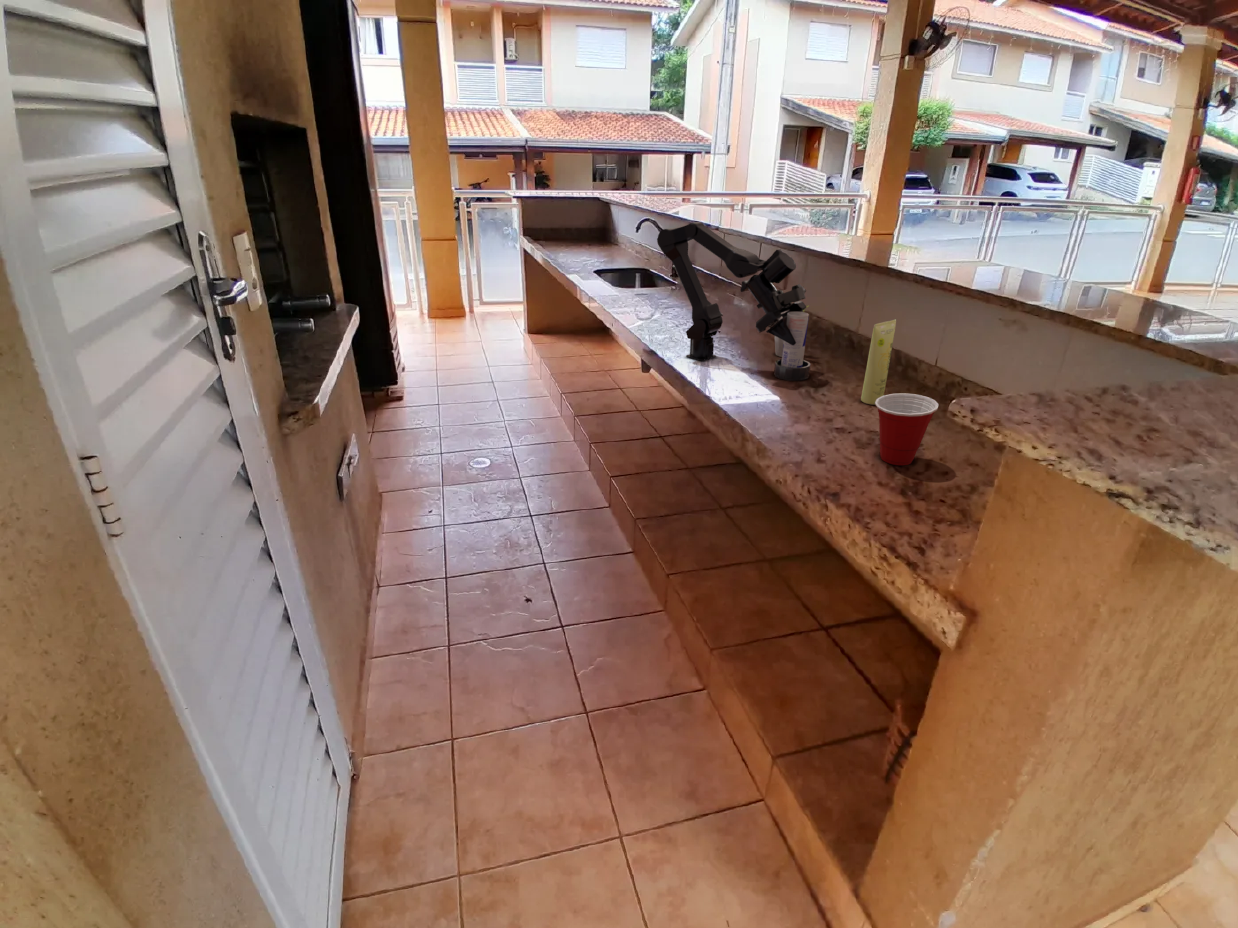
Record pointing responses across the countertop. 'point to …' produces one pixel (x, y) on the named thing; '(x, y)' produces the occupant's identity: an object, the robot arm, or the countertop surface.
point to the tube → (878, 361)
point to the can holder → (792, 371)
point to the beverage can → (798, 329)
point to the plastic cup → (903, 425)
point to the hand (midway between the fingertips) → (799, 342)
